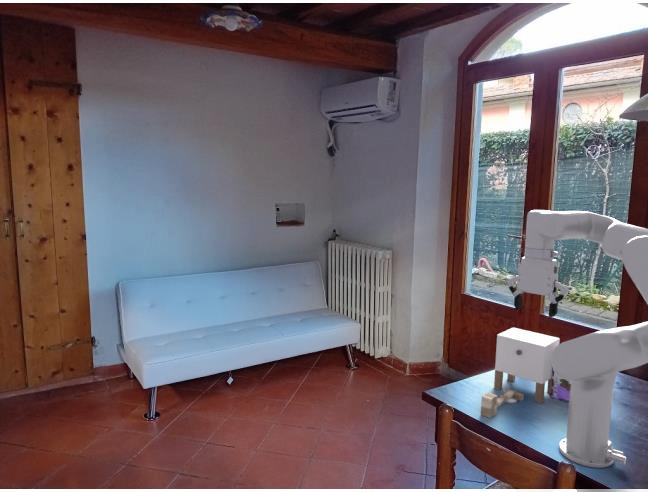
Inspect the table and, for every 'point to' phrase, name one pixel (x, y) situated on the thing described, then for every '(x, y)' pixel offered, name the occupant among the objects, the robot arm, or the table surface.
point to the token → (511, 400)
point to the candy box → (560, 387)
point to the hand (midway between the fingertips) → (534, 312)
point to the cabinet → (525, 358)
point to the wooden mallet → (496, 401)
